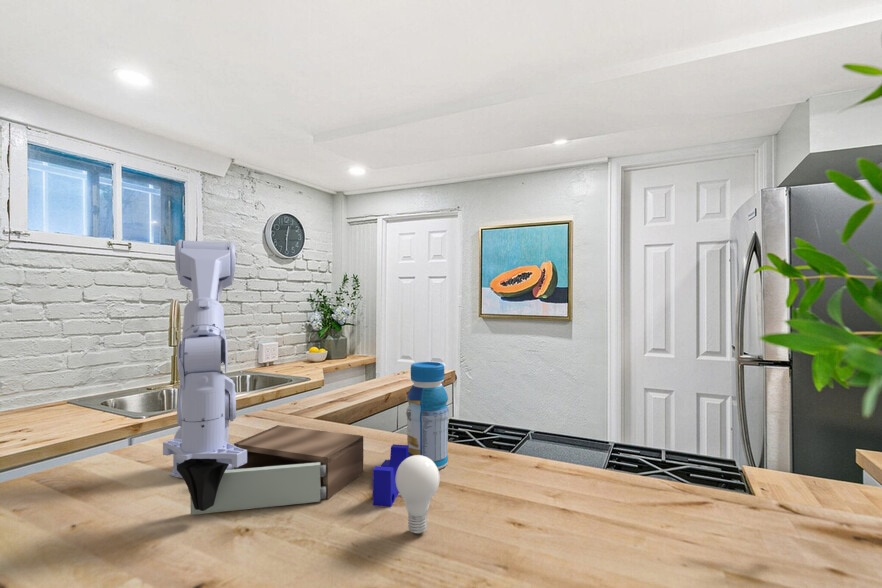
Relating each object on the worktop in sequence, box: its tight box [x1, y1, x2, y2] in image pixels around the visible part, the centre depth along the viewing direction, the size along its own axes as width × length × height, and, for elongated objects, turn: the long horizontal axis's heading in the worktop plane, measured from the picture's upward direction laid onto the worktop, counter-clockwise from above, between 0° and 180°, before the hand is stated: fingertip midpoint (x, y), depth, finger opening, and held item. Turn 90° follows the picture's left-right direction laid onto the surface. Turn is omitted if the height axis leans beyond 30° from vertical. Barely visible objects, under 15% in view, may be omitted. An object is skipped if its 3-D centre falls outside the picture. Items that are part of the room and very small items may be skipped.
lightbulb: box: [395, 455, 441, 535], centre depth 65 cm, size 6×6×11 cm
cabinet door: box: [189, 462, 326, 516], centre depth 72 cm, size 20×1×6 cm, turn 103°
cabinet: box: [233, 424, 365, 500], centre depth 84 cm, size 20×12×7 cm, turn 70°
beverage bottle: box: [405, 361, 450, 470], centre depth 90 cm, size 8×8×20 cm
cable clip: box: [372, 444, 409, 508], centre depth 79 cm, size 12×4×6 cm, turn 170°
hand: (204, 507), depth 67 cm, fingers closed
